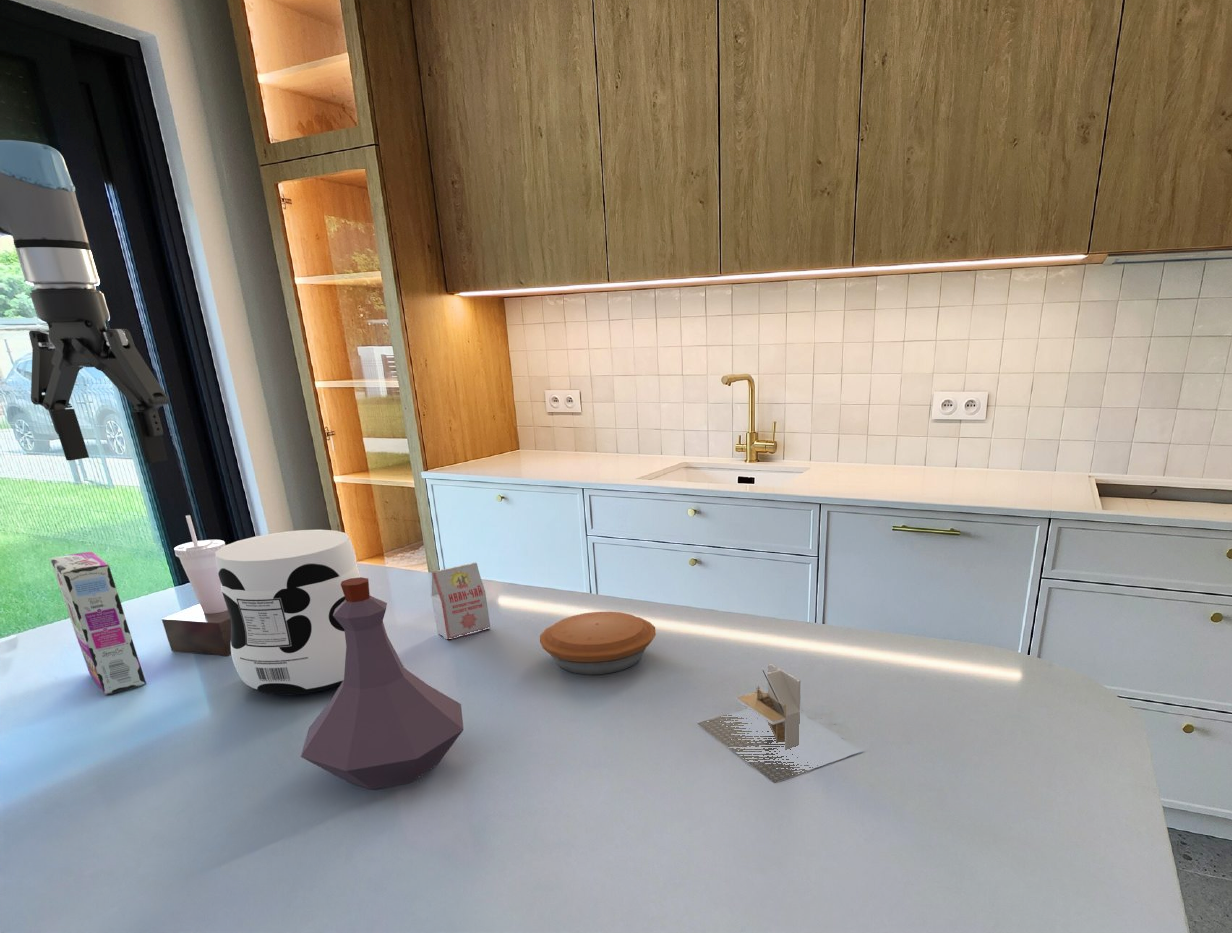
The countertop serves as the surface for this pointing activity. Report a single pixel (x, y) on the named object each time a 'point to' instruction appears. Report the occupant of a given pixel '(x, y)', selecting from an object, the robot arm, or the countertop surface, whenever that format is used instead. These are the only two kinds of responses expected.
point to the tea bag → (459, 601)
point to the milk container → (287, 608)
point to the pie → (597, 642)
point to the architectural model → (781, 717)
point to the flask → (379, 706)
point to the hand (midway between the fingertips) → (117, 460)
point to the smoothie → (203, 570)
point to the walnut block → (199, 631)
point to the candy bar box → (98, 621)
